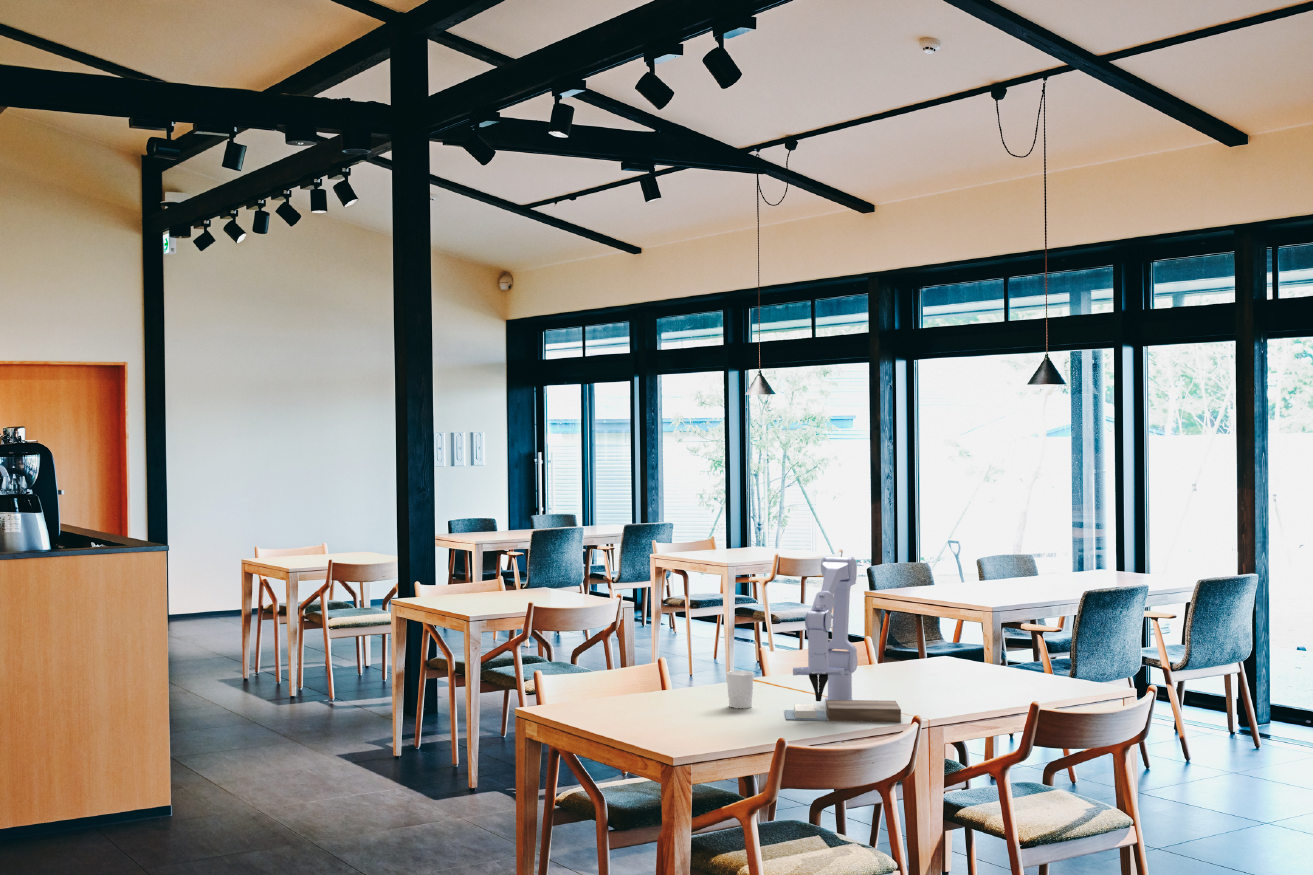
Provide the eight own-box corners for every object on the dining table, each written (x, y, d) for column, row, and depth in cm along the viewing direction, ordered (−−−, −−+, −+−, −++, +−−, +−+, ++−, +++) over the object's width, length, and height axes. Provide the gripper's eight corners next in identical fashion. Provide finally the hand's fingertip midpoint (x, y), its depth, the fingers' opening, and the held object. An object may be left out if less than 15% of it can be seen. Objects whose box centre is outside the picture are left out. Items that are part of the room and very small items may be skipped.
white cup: (738, 710, 341) (738, 676, 342) (721, 705, 348) (721, 672, 348) (759, 706, 346) (758, 673, 346) (741, 702, 352) (741, 669, 353)
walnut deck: (826, 711, 339) (826, 699, 339) (895, 712, 337) (895, 700, 337) (828, 720, 327) (828, 708, 327) (900, 721, 325) (900, 709, 325)
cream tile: (815, 704, 338) (815, 711, 338) (794, 704, 338) (794, 711, 338) (816, 710, 329) (816, 718, 329) (795, 710, 329) (795, 717, 329)
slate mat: (784, 711, 340) (784, 709, 340) (824, 711, 339) (824, 710, 339) (785, 720, 328) (785, 718, 328) (827, 720, 327) (827, 719, 327)
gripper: (793, 654, 330) (793, 702, 330) (844, 655, 329) (845, 703, 329) (792, 650, 337) (792, 698, 337) (842, 651, 336) (843, 698, 336)
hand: (818, 700), depth 333 cm, fingers closed
